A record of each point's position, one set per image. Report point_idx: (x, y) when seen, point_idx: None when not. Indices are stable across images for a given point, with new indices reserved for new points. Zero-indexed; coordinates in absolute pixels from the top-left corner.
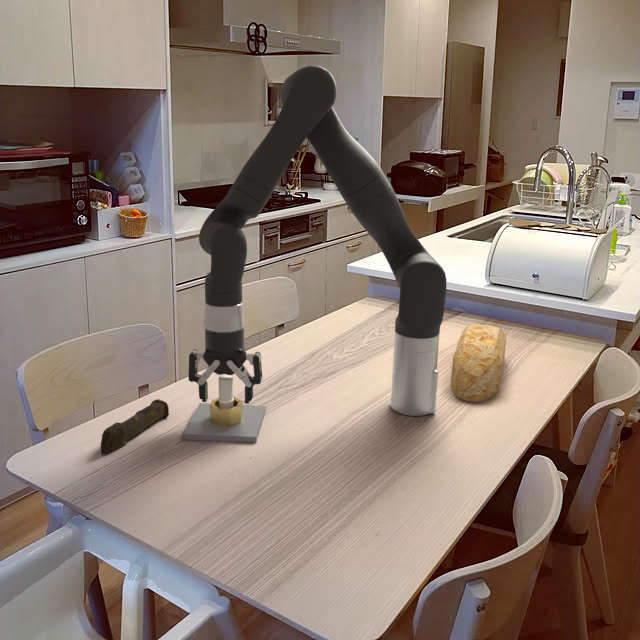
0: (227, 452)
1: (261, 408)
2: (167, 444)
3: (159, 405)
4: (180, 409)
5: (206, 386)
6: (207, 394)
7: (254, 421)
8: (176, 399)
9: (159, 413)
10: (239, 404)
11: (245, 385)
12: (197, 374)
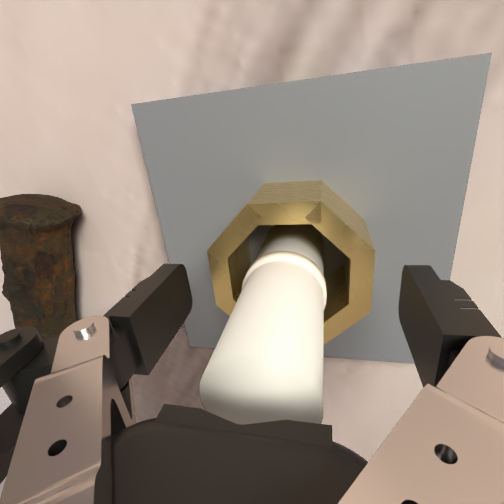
0: (337, 393)
1: (460, 98)
2: (169, 356)
3: (28, 247)
4: (83, 132)
5: (150, 331)
6: (174, 279)
7: (422, 252)
8: (14, 28)
9: (58, 258)
10: (360, 288)
11: (435, 380)
12: (36, 376)
